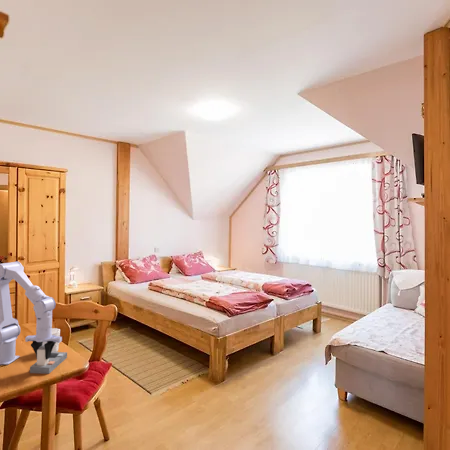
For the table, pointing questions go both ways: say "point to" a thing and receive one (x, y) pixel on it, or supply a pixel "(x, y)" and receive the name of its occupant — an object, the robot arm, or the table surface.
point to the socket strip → (53, 363)
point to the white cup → (56, 333)
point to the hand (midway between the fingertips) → (43, 358)
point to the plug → (41, 356)
